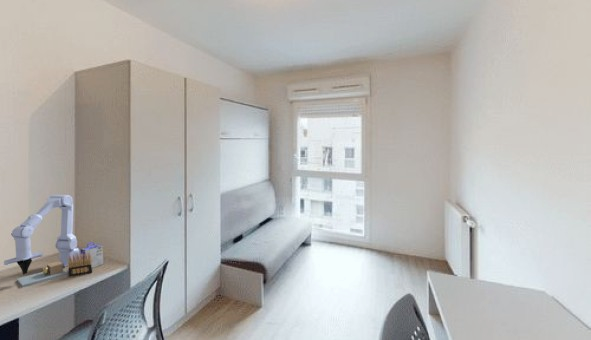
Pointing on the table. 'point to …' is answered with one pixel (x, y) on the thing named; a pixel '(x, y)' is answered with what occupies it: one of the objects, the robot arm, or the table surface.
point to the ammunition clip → (80, 265)
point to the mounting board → (55, 272)
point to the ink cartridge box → (94, 254)
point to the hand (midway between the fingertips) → (24, 273)
